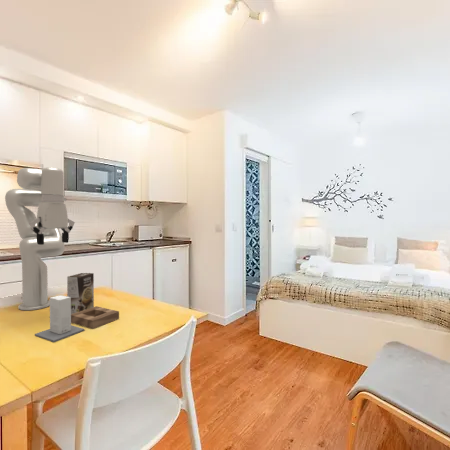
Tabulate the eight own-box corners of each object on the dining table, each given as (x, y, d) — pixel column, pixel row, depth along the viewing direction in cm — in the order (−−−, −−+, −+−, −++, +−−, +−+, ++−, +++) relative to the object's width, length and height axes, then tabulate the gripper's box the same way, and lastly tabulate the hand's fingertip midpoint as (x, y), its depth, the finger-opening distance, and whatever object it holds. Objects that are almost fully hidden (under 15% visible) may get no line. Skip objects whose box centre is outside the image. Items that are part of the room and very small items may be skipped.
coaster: (34, 335, 99) (34, 333, 99) (65, 325, 108) (65, 323, 108) (54, 342, 93) (54, 340, 93) (84, 330, 103) (84, 329, 103)
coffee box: (80, 316, 118) (79, 277, 118) (66, 315, 120) (66, 276, 119) (94, 309, 127) (94, 272, 127) (81, 308, 128) (81, 272, 128)
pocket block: (69, 322, 111) (69, 314, 111) (96, 313, 122) (96, 306, 122) (92, 328, 105) (92, 320, 105) (119, 318, 115) (119, 311, 115)
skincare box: (71, 330, 102) (71, 297, 101) (59, 335, 98) (59, 300, 98) (61, 327, 104) (60, 294, 104) (49, 331, 101) (48, 297, 100)
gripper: (67, 201, 122) (68, 241, 123) (23, 198, 107) (24, 244, 107) (79, 200, 119) (79, 242, 119) (35, 198, 103) (35, 245, 104)
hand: (53, 243), depth 113 cm, fingers open, 9 cm apart
